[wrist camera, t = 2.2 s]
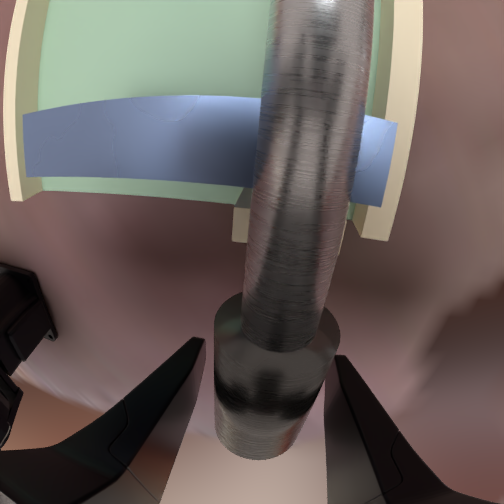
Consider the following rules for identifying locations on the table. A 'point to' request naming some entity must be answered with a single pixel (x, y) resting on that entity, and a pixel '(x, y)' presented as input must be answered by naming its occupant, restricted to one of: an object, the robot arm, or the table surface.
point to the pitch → (186, 81)
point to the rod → (256, 198)
